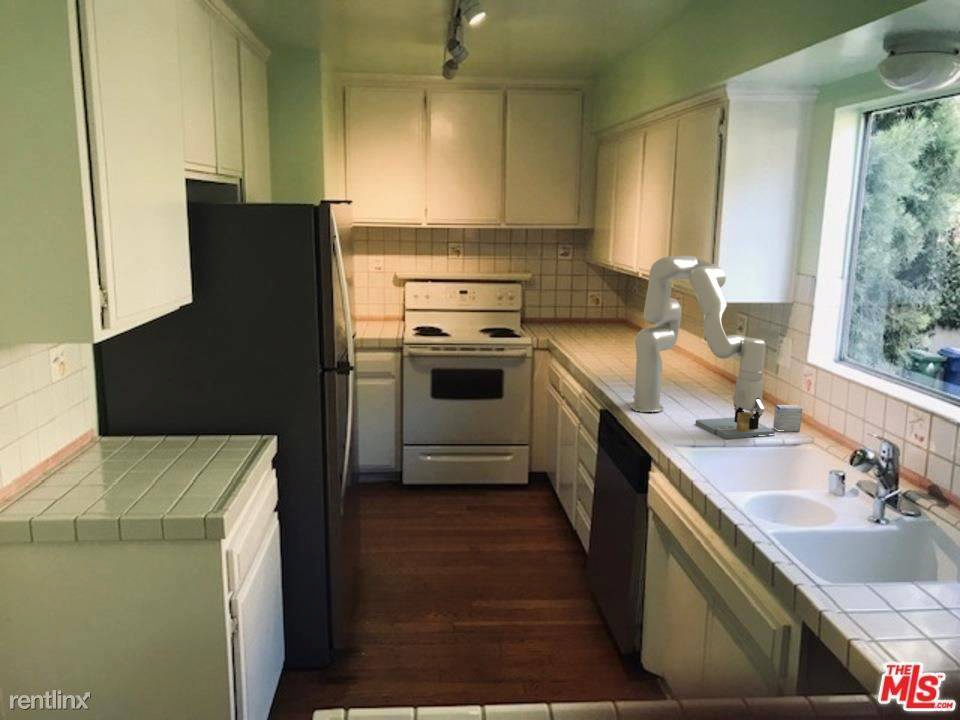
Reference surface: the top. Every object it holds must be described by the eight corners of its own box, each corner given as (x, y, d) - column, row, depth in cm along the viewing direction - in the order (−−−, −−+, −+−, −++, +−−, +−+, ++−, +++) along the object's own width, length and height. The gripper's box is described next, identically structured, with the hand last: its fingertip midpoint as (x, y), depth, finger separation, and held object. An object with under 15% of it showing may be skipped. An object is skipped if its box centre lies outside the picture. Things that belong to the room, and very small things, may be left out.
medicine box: (794, 428, 262) (797, 404, 260) (800, 432, 257) (803, 408, 256) (772, 428, 261) (775, 404, 260) (778, 432, 257) (780, 408, 255)
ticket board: (695, 424, 265) (695, 419, 264) (744, 420, 270) (744, 416, 269) (714, 434, 253) (714, 429, 253) (764, 430, 258) (765, 425, 258)
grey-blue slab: (715, 434, 253) (717, 412, 252) (764, 430, 258) (766, 409, 256) (725, 439, 248) (727, 417, 246) (774, 435, 253) (776, 414, 251)
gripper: (726, 370, 256) (721, 419, 259) (756, 381, 239) (751, 433, 243) (745, 369, 258) (740, 418, 261) (776, 380, 241) (771, 432, 245)
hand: (745, 425), depth 252 cm, fingers open, 7 cm apart
